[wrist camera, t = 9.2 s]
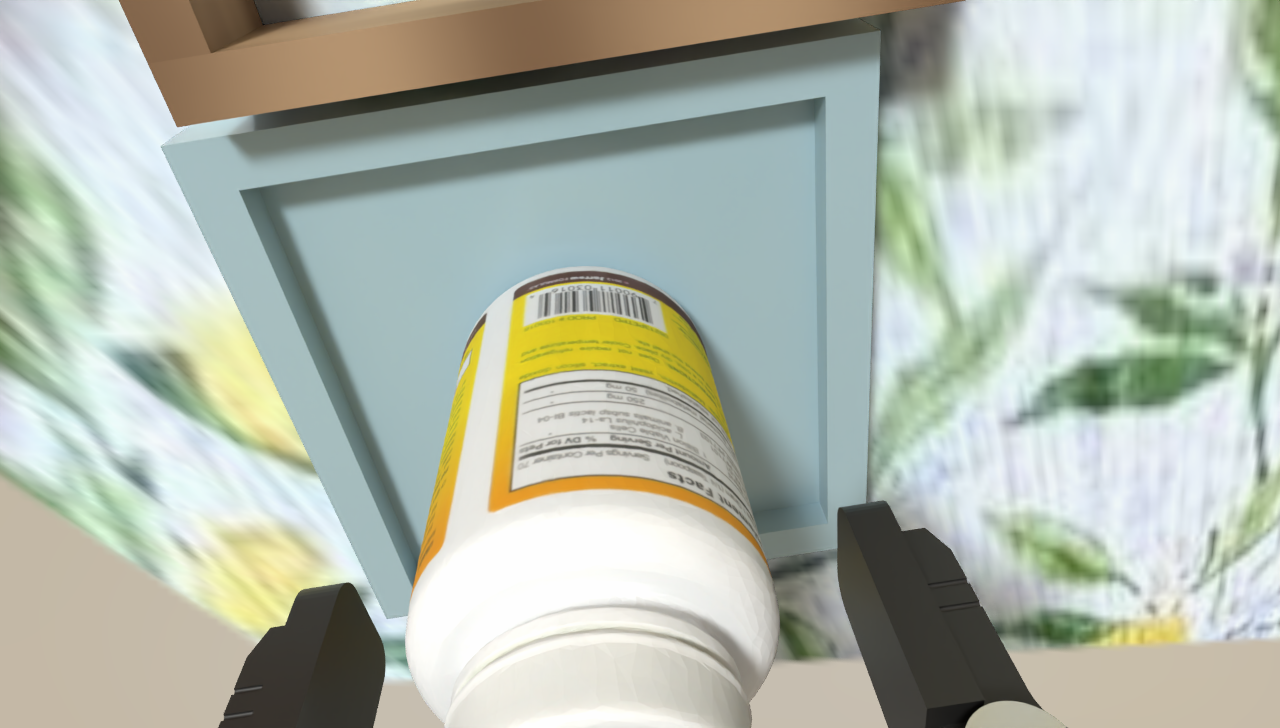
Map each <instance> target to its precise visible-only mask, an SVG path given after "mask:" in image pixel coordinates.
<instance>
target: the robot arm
mask: <svg viewBox="0 0 1280 728" xmlns="http://www.w3.org/2000/svg"><path fill="white" fill-rule="evenodd" d="M837 570H838V581H839V587H840V592H841V596H842V600H843V604H844V607H845V610H846V613H847V615H848V618H849V621H850V624H851V626H852V629H853V632H854V635H855V637H856V640H857V643H858V646H859V648H860V651H861V654H862V657H863V659H864V662H865V665H866V667H867V670H868V673H869V676H870V678H871V681H872V684H873V687H874V689H875V692H876V695H877V698H878V700H879V703H880V706H881V708H882V711H883V714H884V717H885V720H886V722H887V725H888V728H1067V727H1065V726H1064V724H1062V723H1061V722H1060V721H1059V720H1057V719H1056V718H1055V717H1054V716H1052V715H1051V714H1049V713H1047V712H1046V711H1044V710H1043V709H1042V708H1041V707H1040V706H1039V704H1038V703H1037V702H1036V701H1035V700H1034V699H1033V697H1032V695H1031V694H1030V692H1029V691H1028V689H1027V687H1026V685H1025V683H1024V682H1023V680H1022V678H1021V676H1020V674H1019V672H1018V671H1017V669H1016V667H1015V665H1014V663H1013V662H1012V660H1011V658H1010V656H1009V654H1008V652H1007V651H1006V649H1005V647H1004V645H1003V643H1002V642H1001V640H1000V638H999V636H998V634H997V632H996V631H995V629H994V627H993V625H992V623H991V622H990V620H989V618H988V616H987V614H986V612H985V611H984V609H983V607H981V606H980V604H979V600H978V598H977V596H976V594H975V592H974V591H973V589H972V587H971V585H970V583H969V584H968V583H967V579H966V576H965V574H964V572H963V571H962V569H961V567H960V565H959V563H958V561H957V560H956V558H955V556H954V554H953V552H952V551H951V549H949V548H948V547H947V546H946V545H945V544H943V543H942V542H941V541H940V540H939V539H937V538H936V537H935V536H934V535H933V534H932V533H930V532H929V531H928V530H927V529H926V528H921V529H915V530H908V531H901V529H900V527H899V524H898V522H897V520H896V518H895V516H894V514H893V512H892V510H891V508H890V506H889V505H888V503H887V502H886V501H877V502H871V503H864V504H858V505H851V506H845V507H839V508H838V512H837ZM384 677H385V652H384V647H383V643H382V640H381V638H380V636H379V634H378V632H377V630H376V628H375V626H374V624H373V622H372V620H371V618H370V616H369V614H368V612H367V610H366V608H365V606H364V604H363V602H362V600H361V598H360V596H359V594H358V592H357V590H356V589H355V587H354V586H353V585H352V584H351V583H341V584H335V585H329V586H322V587H316V588H309V589H303V590H302V591H300V592H299V593H298V595H297V596H296V598H295V601H294V603H293V606H292V609H291V611H290V614H289V617H288V619H287V622H286V625H285V626H280V627H273V628H270V629H269V631H268V632H267V633H266V634H265V636H264V637H263V638H262V639H261V641H260V642H259V643H258V644H257V645H256V647H255V648H254V649H253V650H252V652H251V653H250V654H249V655H248V657H247V658H246V661H245V663H244V666H243V668H242V671H241V673H240V676H239V678H238V680H237V683H236V685H235V688H234V690H235V694H234V695H231V698H230V700H229V703H228V705H227V707H226V710H225V713H224V721H221V723H220V725H219V727H218V728H373V725H374V721H375V717H376V713H377V708H378V704H379V699H380V695H381V691H382V686H383V682H384Z"/></svg>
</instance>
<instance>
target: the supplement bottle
mask: <svg viewBox="0 0 1280 728" xmlns="http://www.w3.org/2000/svg"><path fill="white" fill-rule="evenodd" d="M779 633H780V615H779V607H778V602H777V597H776V593H775V589H774V584H773V580H772V576H771V573H770V570H769V567H768V563H767V560H766V556H765V553H764V550H763V547H762V544H761V539H760V536H759V534H758V530H757V526H756V523H755V520H754V516H753V513H752V509H751V506H750V503H749V499H748V496H747V492H746V489H745V485H744V482H743V478H742V475H741V471H740V468H739V465H738V461H737V457H736V454H735V450H734V446H733V444H732V440H731V437H730V433H729V430H728V426H727V423H726V419H725V416H724V413H723V410H722V406H721V403H720V399H719V396H718V392H717V389H716V386H715V382H714V378H713V375H712V371H711V368H710V364H709V361H708V357H707V354H706V350H705V347H704V344H703V342H702V339H701V337H700V335H699V333H698V331H697V329H696V327H695V325H694V323H693V322H692V320H691V318H690V317H689V316H688V314H687V313H686V312H685V311H684V309H683V308H682V307H681V306H680V305H679V304H678V303H677V302H676V301H675V300H674V299H673V298H672V297H671V296H669V295H668V294H667V293H666V292H665V291H663V290H662V289H660V288H659V287H657V286H656V285H654V284H652V283H650V282H649V281H647V280H645V279H643V278H640V277H638V276H636V275H633V274H630V273H627V272H624V271H620V270H616V269H612V268H606V267H598V266H576V267H566V268H559V269H555V270H551V271H547V272H544V273H540V274H538V275H535V276H533V277H530V278H528V279H526V280H524V281H522V282H520V283H518V284H516V285H515V286H513V287H511V288H510V289H508V290H507V291H506V292H504V293H503V294H502V295H500V296H499V297H498V298H497V299H496V300H495V301H494V302H493V303H492V304H491V305H490V306H489V307H488V308H487V309H486V310H485V311H484V312H483V314H482V315H481V317H480V318H479V319H478V321H477V322H476V324H475V326H474V327H473V329H472V331H471V333H470V335H469V337H468V340H467V343H466V346H465V349H464V352H463V357H462V360H461V364H460V369H459V373H458V379H457V383H456V388H455V394H454V398H453V403H452V408H451V413H450V418H449V422H448V427H447V432H446V436H445V440H444V445H443V449H442V453H441V459H440V463H439V468H438V473H437V478H436V482H435V487H434V492H433V496H432V500H431V505H430V509H429V515H428V519H427V523H426V529H425V533H424V538H423V542H422V545H421V552H420V556H419V560H418V566H417V571H416V575H415V579H414V583H413V588H412V593H411V598H410V604H409V612H408V619H407V626H406V637H405V647H406V656H407V661H408V665H409V669H410V673H411V676H412V678H413V680H414V683H415V685H416V687H417V689H418V691H419V693H420V694H421V696H422V698H423V699H424V701H425V703H426V704H427V705H428V706H429V708H430V709H431V710H432V711H433V713H434V714H435V715H436V716H437V717H438V718H439V719H440V720H441V721H442V722H443V723H444V724H445V726H444V728H751V722H752V717H751V709H750V705H749V702H750V700H752V698H753V697H754V696H755V694H756V693H757V692H758V690H759V689H760V687H761V685H762V684H763V682H764V680H765V679H766V677H767V675H768V673H769V671H770V668H771V666H772V664H773V661H774V658H775V655H776V651H777V646H778V640H779Z"/></svg>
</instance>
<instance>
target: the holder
mask: <svg viewBox="0 0 1280 728" xmlns="http://www.w3.org/2000/svg"><path fill="white" fill-rule="evenodd" d="M959 1H965V0H416V1H410V2H404V3H398V4H391V5H385V6H379V7H373V8H367V9H360V10H354V11H348V12H342V13H336V14H329V15H323V16H317V17H311V18H305V19H299V20H292V21H286V22H280V23H274V24H268V25H263V24H262V22H261V19H260V16H259V14H258V11H257V8H256V6H255V3H254V0H119V2H120V4H121V6H122V8H123V11H124V13H125V15H126V17H127V19H128V21H129V24H130V26H131V28H132V30H133V32H134V34H135V37H136V39H137V41H138V43H139V45H140V47H141V50H142V52H143V54H144V56H145V58H146V60H147V63H148V65H149V67H150V69H151V71H152V74H153V76H154V78H155V80H156V82H157V84H158V87H159V89H160V91H161V93H162V95H163V97H164V100H165V102H166V104H167V106H168V108H169V110H170V113H171V115H172V117H173V119H174V121H175V123H176V126H177V127H182V126H188V125H194V124H200V123H207V122H213V121H219V120H225V119H231V118H238V117H244V116H250V115H256V114H263V113H269V112H275V111H281V110H287V109H294V108H300V107H306V106H312V105H319V104H325V103H331V102H337V101H343V100H350V99H356V98H362V97H368V96H375V95H381V94H387V93H393V92H399V91H406V90H412V89H418V88H424V87H430V86H437V85H443V84H449V83H455V82H462V81H468V80H474V79H480V78H486V77H493V76H499V75H505V74H511V73H518V72H524V71H530V70H536V69H542V68H549V67H555V66H561V65H567V64H574V63H580V62H586V61H592V60H598V59H605V58H611V57H617V56H623V55H629V54H636V53H642V52H648V51H654V50H661V49H667V48H673V47H679V46H685V45H692V44H698V43H704V42H710V41H717V40H723V39H729V38H735V37H741V36H748V35H754V34H760V33H766V32H773V31H779V30H785V29H791V28H797V27H804V26H810V25H816V24H822V23H829V22H835V21H841V20H847V19H853V18H860V17H866V16H872V15H878V14H884V13H891V12H897V11H903V10H909V9H916V8H922V7H928V6H934V5H940V4H947V3H953V2H959Z"/></svg>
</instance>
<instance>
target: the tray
mask: <svg viewBox="0 0 1280 728" xmlns="http://www.w3.org/2000/svg"><path fill="white" fill-rule="evenodd" d="M880 47H881V30H879V29H877V28H875V27H874V26H872V25H870V24H868V23H866V22H864V21H863V20H861V19H859V18H853V19H847V20H841V21H835V22H829V23H822V24H816V25H810V26H804V27H797V28H791V29H785V30H779V31H773V32H766V33H760V34H754V35H748V36H741V37H735V38H729V39H723V40H717V41H710V42H704V43H698V44H692V45H685V46H679V47H673V48H667V49H661V50H654V51H648V52H642V53H636V54H629V55H623V56H617V57H611V58H605V59H598V60H592V61H586V62H580V63H574V64H567V65H561V66H555V67H549V68H542V69H536V70H530V71H524V72H518V73H511V74H505V75H499V76H493V77H486V78H480V79H474V80H468V81H462V82H455V83H449V84H443V85H437V86H430V87H424V88H418V89H412V90H406V91H399V92H393V93H387V94H381V95H375V96H368V97H362V98H356V99H350V100H343V101H337V102H331V103H325V104H319V105H312V106H306V107H300V108H294V109H287V110H281V111H275V112H269V113H263V114H256V115H250V116H244V117H238V118H231V119H225V120H219V121H213V122H207V123H200V124H194V125H190V126H189V127H187V128H186V129H184V130H183V131H181V132H180V133H179V134H177V135H176V136H174V137H173V138H172V139H170V140H169V141H167V142H166V143H164V144H163V145H162V146H161V148H162V150H163V152H164V154H165V157H166V159H167V161H168V163H169V165H170V167H171V169H172V171H173V173H174V175H175V177H176V180H177V182H178V184H179V186H180V188H181V190H182V192H183V194H184V196H185V198H186V200H187V203H188V205H189V207H190V209H191V211H192V213H193V215H194V217H195V219H196V221H197V223H198V225H199V228H200V230H201V232H202V234H203V236H204V238H205V240H206V242H207V244H208V246H209V248H210V251H211V253H212V255H213V257H214V259H215V261H216V263H217V265H218V267H219V269H220V271H221V274H222V276H223V278H224V280H225V282H226V284H227V286H228V288H229V290H230V292H231V294H232V297H233V299H234V301H235V303H236V305H237V307H238V309H239V311H240V313H241V315H242V317H243V320H244V322H245V324H246V326H247V328H248V330H249V332H250V334H251V336H252V338H253V340H254V342H255V345H256V347H257V349H258V351H259V353H260V355H261V357H262V359H263V361H264V363H265V365H266V368H267V370H268V372H269V374H270V376H271V378H272V380H273V382H274V384H275V386H276V388H277V391H278V393H279V395H280V397H281V399H282V401H283V403H284V405H285V407H286V409H287V411H288V414H289V416H290V418H291V420H292V422H293V424H294V426H295V428H296V430H297V432H298V434H299V437H300V439H301V441H302V443H303V445H304V447H305V449H306V451H307V453H308V455H309V457H310V460H311V462H312V464H313V466H314V468H315V470H316V472H317V474H318V476H319V478H320V480H321V482H322V485H323V487H324V489H325V491H326V493H327V495H328V497H329V499H330V501H331V503H332V505H333V508H334V510H335V512H336V514H337V516H338V518H339V520H340V522H341V524H342V526H343V528H344V531H345V533H346V535H347V537H348V539H349V541H350V543H351V545H352V547H353V549H354V551H355V554H356V556H357V558H358V560H359V562H360V564H361V566H362V568H363V570H364V572H365V574H366V577H367V579H368V581H369V583H370V585H371V587H372V589H373V591H374V593H375V595H376V597H377V600H378V602H379V604H380V606H381V608H382V610H383V612H384V614H385V616H386V618H387V619H390V618H397V617H403V616H408V612H409V604H410V598H411V593H412V588H413V583H414V579H415V575H416V571H417V566H418V560H419V556H420V552H421V545H422V542H423V538H424V533H425V529H426V523H427V519H428V515H429V509H430V505H431V500H432V496H433V492H434V487H435V482H436V478H437V473H438V468H439V463H440V459H441V453H442V449H443V445H444V440H445V436H446V432H447V427H448V422H449V418H450V413H451V408H452V403H453V398H454V394H455V388H456V383H457V379H458V373H459V369H460V364H461V360H462V357H463V352H464V349H465V346H466V343H467V340H468V337H469V335H470V333H471V331H472V329H473V327H474V326H475V324H476V322H477V321H478V319H479V318H480V317H481V315H482V314H483V312H484V311H485V310H486V309H487V308H488V307H489V306H490V305H491V304H492V303H493V302H494V301H495V300H496V299H497V298H498V297H499V296H500V295H502V294H503V293H504V292H506V291H507V290H508V289H510V288H511V287H513V286H515V285H516V284H518V283H520V282H522V281H524V280H526V279H528V278H530V277H533V276H535V275H538V274H540V273H544V272H547V271H551V270H555V269H559V268H566V267H576V266H598V267H606V268H612V269H616V270H620V271H624V272H627V273H630V274H633V275H636V276H638V277H640V278H643V279H645V280H647V281H649V282H650V283H652V284H654V285H656V286H657V287H659V288H660V289H662V290H663V291H665V292H666V293H667V294H668V295H669V296H671V297H672V298H673V299H674V300H675V301H676V302H677V303H678V304H679V305H680V306H681V307H682V308H683V309H684V311H685V312H686V313H687V314H688V316H689V317H690V318H691V320H692V322H693V323H694V325H695V327H696V329H697V331H698V333H699V335H700V337H701V339H702V342H703V344H704V347H705V350H706V354H707V357H708V361H709V364H710V368H711V371H712V375H713V378H714V382H715V386H716V389H717V392H718V396H719V399H720V403H721V406H722V410H723V413H724V416H725V419H726V423H727V426H728V430H729V433H730V437H731V440H732V444H733V446H734V450H735V454H736V457H737V461H738V465H739V468H740V471H741V475H742V478H743V482H744V485H745V489H746V492H747V496H748V499H749V503H750V506H751V509H752V513H753V516H754V520H755V523H756V526H757V530H758V534H759V536H760V539H761V544H762V547H763V550H764V553H765V556H766V560H768V559H775V558H781V557H787V556H794V555H800V554H807V553H813V552H819V551H826V550H832V549H837V512H838V508H839V507H845V506H851V505H858V504H864V503H866V491H867V459H868V427H869V396H870V364H871V332H872V300H873V269H874V237H875V205H876V174H877V142H878V110H879V78H880Z"/></svg>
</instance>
